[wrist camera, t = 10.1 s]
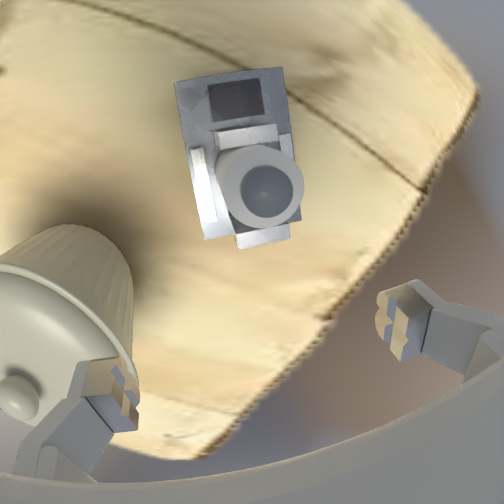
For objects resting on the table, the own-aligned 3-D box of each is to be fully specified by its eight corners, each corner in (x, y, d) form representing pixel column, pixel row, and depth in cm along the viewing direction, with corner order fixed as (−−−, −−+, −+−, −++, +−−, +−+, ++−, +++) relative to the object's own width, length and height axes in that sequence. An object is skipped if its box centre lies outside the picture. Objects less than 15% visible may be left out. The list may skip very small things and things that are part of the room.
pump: (209, 145, 25) (217, 158, 17) (268, 135, 25) (304, 144, 17) (220, 202, 27) (232, 241, 19) (276, 191, 27) (312, 224, 19)
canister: (45, 169, 28) (-89, 243, 9) (183, 246, 34) (180, 399, 15) (8, 293, 32) (-67, 406, 13) (121, 353, 39) (100, 493, 20)
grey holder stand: (177, 89, 27) (169, 73, 18) (266, 75, 28) (301, 56, 18) (202, 219, 33) (207, 264, 24) (284, 203, 34) (321, 240, 24)
